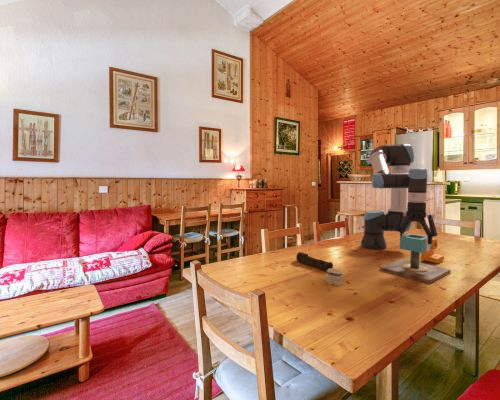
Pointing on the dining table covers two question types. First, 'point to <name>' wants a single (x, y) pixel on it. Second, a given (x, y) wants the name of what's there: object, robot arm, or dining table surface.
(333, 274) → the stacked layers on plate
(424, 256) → the bracket
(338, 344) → the dining table surface
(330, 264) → the hand tool
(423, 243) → the collar
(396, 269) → the post base
